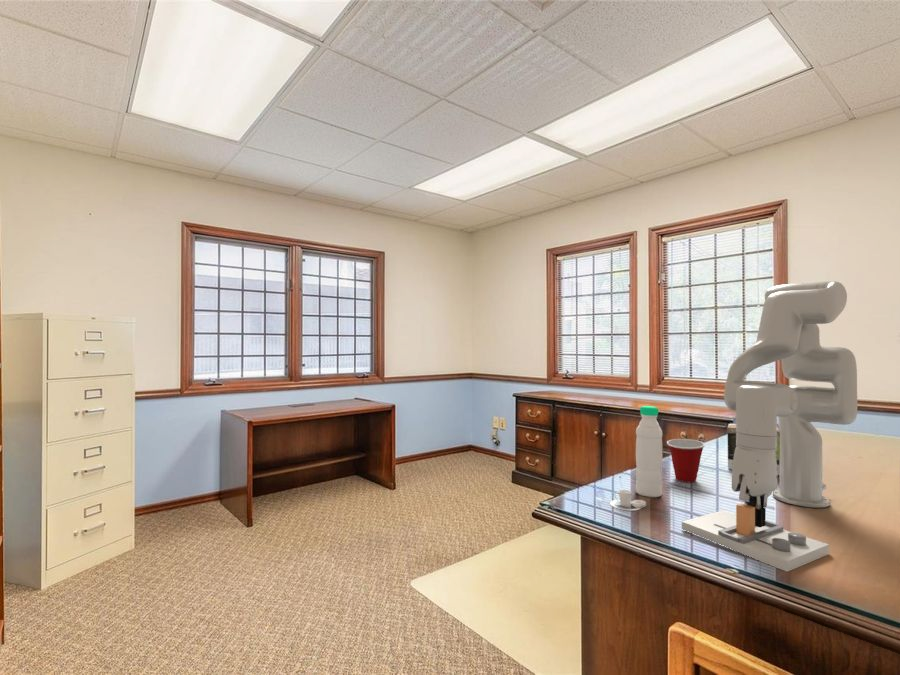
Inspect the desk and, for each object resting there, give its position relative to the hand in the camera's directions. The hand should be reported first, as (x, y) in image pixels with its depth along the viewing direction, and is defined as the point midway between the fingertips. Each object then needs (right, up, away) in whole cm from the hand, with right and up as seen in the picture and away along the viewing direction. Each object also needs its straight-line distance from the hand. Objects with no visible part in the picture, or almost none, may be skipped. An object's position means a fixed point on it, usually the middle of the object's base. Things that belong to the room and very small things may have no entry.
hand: (755, 524), depth 103 cm
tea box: (+36, -4, +57) cm, 68 cm away
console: (-2, -3, -1) cm, 4 cm away
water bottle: (-11, -4, +31) cm, 33 cm away
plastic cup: (+7, -4, +45) cm, 45 cm away
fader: (-3, -1, -2) cm, 4 cm away
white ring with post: (-20, -4, +18) cm, 27 cm away
